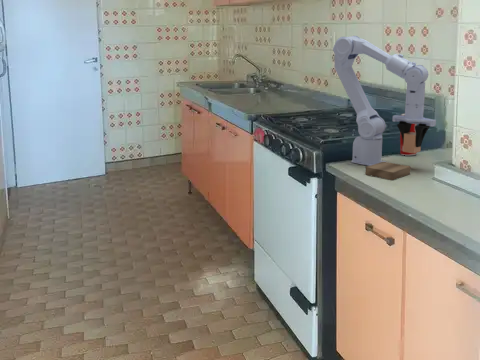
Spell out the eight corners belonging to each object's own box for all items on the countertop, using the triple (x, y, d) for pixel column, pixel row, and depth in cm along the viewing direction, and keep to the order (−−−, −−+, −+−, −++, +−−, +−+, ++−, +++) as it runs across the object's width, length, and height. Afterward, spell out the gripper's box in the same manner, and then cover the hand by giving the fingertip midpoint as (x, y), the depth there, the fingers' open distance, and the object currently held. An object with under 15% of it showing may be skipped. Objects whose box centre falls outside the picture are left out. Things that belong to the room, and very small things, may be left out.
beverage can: (417, 156, 205) (419, 115, 201) (398, 156, 206) (400, 114, 202) (415, 152, 211) (418, 112, 207) (397, 152, 212) (399, 112, 208)
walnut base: (365, 174, 183) (365, 166, 182) (383, 168, 189) (383, 161, 189) (392, 180, 176) (392, 172, 175) (410, 174, 182) (410, 166, 181)
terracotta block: (403, 151, 188) (404, 133, 186) (409, 149, 190) (410, 131, 189) (413, 153, 185) (415, 135, 183) (420, 151, 187) (421, 133, 186)
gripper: (388, 103, 186) (386, 144, 190) (428, 107, 176) (425, 150, 179) (400, 101, 190) (397, 141, 194) (440, 105, 180) (437, 147, 184)
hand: (412, 145), depth 187 cm, fingers closed on terracotta block, 4 cm apart
